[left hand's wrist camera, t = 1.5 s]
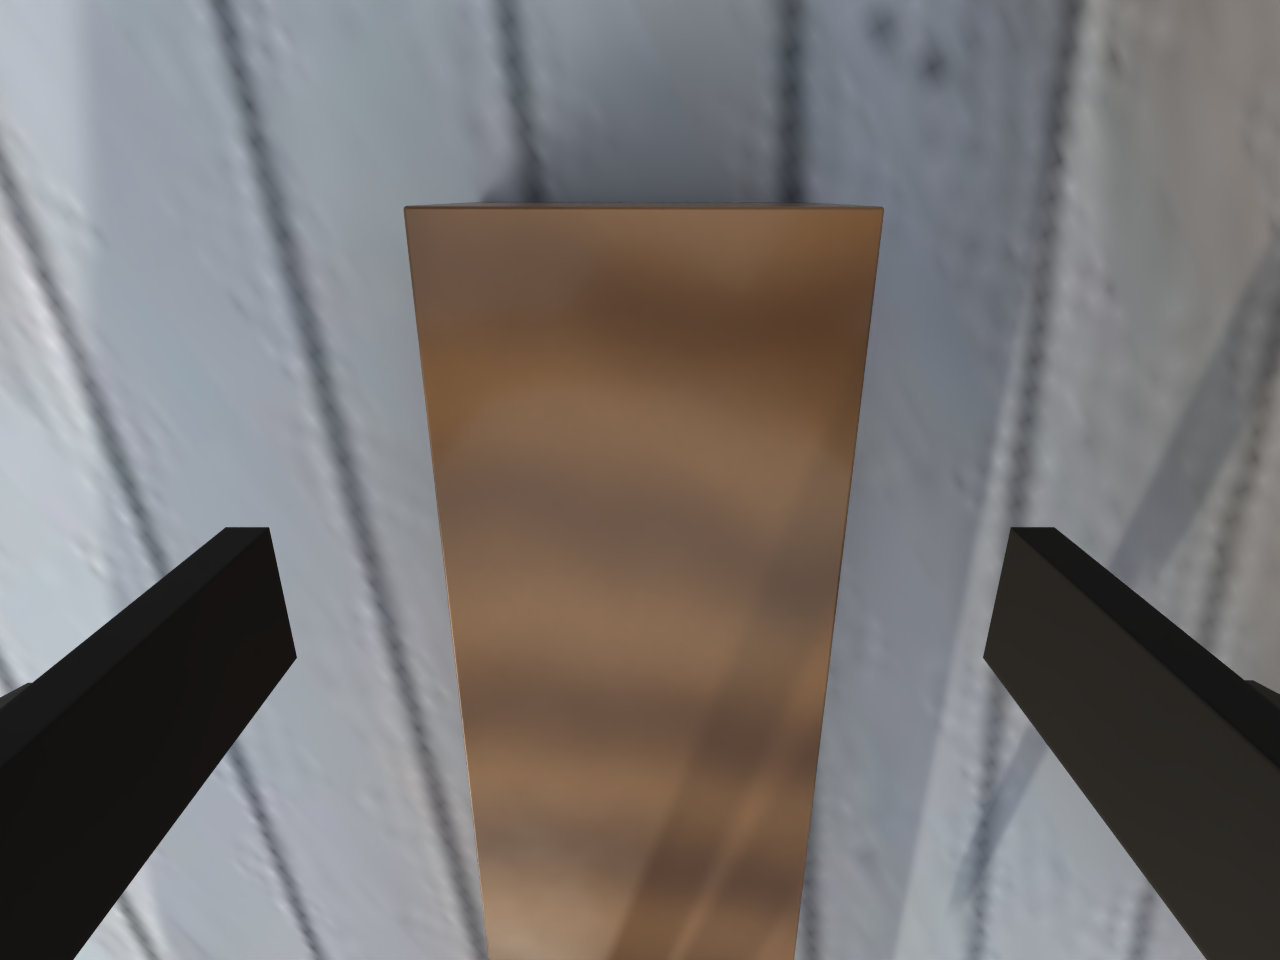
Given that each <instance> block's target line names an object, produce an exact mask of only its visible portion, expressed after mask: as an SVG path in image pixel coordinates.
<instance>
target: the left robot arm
mask: <svg viewBox="0 0 1280 960" xmlns="http://www.w3.org/2000/svg"><path fill="white" fill-rule="evenodd" d="M296 658H297V656H296V651H295V647H294V642H293V637H292V633H291V628H290V623H289V619H288V614H287V609H286V605H285V600H284V595H283V590H282V586H281V581H280V576H279V572H278V567H277V562H276V558H275V553H274V548H273V544H272V539H271V534H270V530H269V527H226V528H224V529H223V530H222V531H221V532H219V533H218V534H217V535H216V536H214V537H213V538H212V539H211V540H209V541H208V542H207V543H206V544H204V545H203V546H202V547H201V548H199V549H198V550H197V551H196V552H195V553H193V554H192V555H191V556H190V557H188V558H187V559H186V560H185V561H183V562H182V563H181V564H180V565H178V566H177V567H176V568H175V569H173V570H172V571H171V572H170V573H168V574H167V575H166V576H165V577H163V578H162V579H161V580H160V581H158V582H157V583H156V584H155V585H154V586H152V587H151V588H150V589H149V590H147V591H146V592H145V593H144V594H142V595H141V596H140V597H139V598H137V599H136V600H135V601H134V602H132V603H131V604H130V605H129V606H127V607H126V608H125V609H124V610H122V611H121V612H120V613H119V614H117V615H116V616H115V617H114V618H112V619H111V620H110V621H109V622H108V623H106V624H105V625H104V626H103V627H101V628H100V629H99V630H98V631H96V632H95V633H94V634H93V635H91V636H90V637H89V638H88V639H86V640H85V641H84V642H83V643H81V644H80V645H79V646H78V647H76V648H75V649H74V650H73V651H71V652H70V653H69V654H68V655H66V656H65V657H64V658H63V659H62V660H60V661H59V662H58V663H57V664H55V665H54V666H53V667H52V668H50V669H49V670H48V671H47V672H45V673H44V674H43V675H42V676H40V677H39V678H38V679H37V680H35V681H34V682H33V683H27V684H25V685H23V686H21V687H19V688H17V689H16V690H14V691H12V692H10V693H8V694H6V695H4V696H2V697H0V960H73V959H74V958H75V957H76V955H77V954H78V953H79V951H80V950H81V949H82V947H83V946H84V945H85V943H86V942H87V940H88V939H89V938H90V936H91V935H92V934H93V932H94V931H95V930H96V928H97V927H98V926H99V924H100V923H101V922H102V920H103V919H104V918H105V916H106V915H107V913H108V912H109V911H110V909H111V908H112V907H113V905H114V904H115V903H116V901H117V900H118V899H119V897H120V896H121V895H122V893H123V892H124V890H125V889H126V888H127V886H128V885H129V884H130V882H131V881H132V880H133V878H134V877H135V876H136V874H137V873H138V872H139V870H140V869H141V868H142V866H143V865H144V863H145V862H146V861H147V859H148V858H149V857H150V855H151V854H152V853H153V851H154V850H155V849H156V847H157V846H158V845H159V843H160V842H161V841H162V839H163V838H164V836H165V835H166V834H167V832H168V831H169V830H170V828H171V827H172V826H173V824H174V823H175V822H176V820H177V819H178V818H179V816H180V815H181V813H182V812H183V811H184V809H185V808H186V807H187V805H188V804H189V803H190V801H191V800H192V799H193V797H194V796H195V795H196V793H197V792H198V791H199V789H200V788H201V786H202V785H203V784H204V782H205V781H206V780H207V778H208V777H209V776H210V774H211V773H212V772H213V770H214V769H215V768H216V766H217V765H218V764H219V762H220V761H221V759H222V758H223V757H224V755H225V754H226V753H227V751H228V750H229V749H230V747H231V746H232V745H233V743H234V742H235V741H236V739H237V738H238V736H239V735H240V734H241V732H242V731H243V730H244V728H245V727H246V726H247V724H248V723H249V722H250V720H251V719H252V718H253V716H254V715H255V714H256V712H257V711H258V709H259V708H260V707H261V705H262V704H263V703H264V701H265V700H266V699H267V697H268V696H269V695H270V693H271V692H272V691H273V689H274V688H275V687H276V685H277V684H278V682H279V681H280V680H281V678H282V677H283V676H284V674H285V673H286V672H287V670H288V669H289V668H290V666H291V665H292V664H293V662H294V661H295V659H296ZM983 658H984V659H985V661H986V662H987V664H988V665H989V666H990V668H991V669H992V670H993V672H994V673H995V674H996V676H997V677H998V678H999V680H1000V681H1001V682H1002V684H1003V685H1004V687H1005V688H1006V689H1007V691H1008V692H1009V693H1010V695H1011V696H1012V697H1013V699H1014V700H1015V701H1016V703H1017V704H1018V705H1019V707H1020V708H1021V709H1022V711H1023V712H1024V714H1025V715H1026V716H1027V718H1028V719H1029V720H1030V722H1031V723H1032V724H1033V726H1034V727H1035V728H1036V730H1037V731H1038V732H1039V734H1040V735H1041V736H1042V738H1043V739H1044V741H1045V742H1046V743H1047V745H1048V746H1049V747H1050V749H1051V750H1052V751H1053V753H1054V754H1055V755H1056V757H1057V758H1058V759H1059V761H1060V762H1061V764H1062V765H1063V766H1064V768H1065V769H1066V770H1067V772H1068V773H1069V774H1070V776H1071V777H1072V778H1073V780H1074V781H1075V782H1076V784H1077V785H1078V786H1079V788H1080V789H1081V791H1082V792H1083V793H1084V795H1085V796H1086V797H1087V799H1088V800H1089V801H1090V803H1091V804H1092V805H1093V807H1094V808H1095V809H1096V811H1097V812H1098V813H1099V815H1100V816H1101V818H1102V819H1103V820H1104V822H1105V823H1106V824H1107V826H1108V827H1109V828H1110V830H1111V831H1112V832H1113V834H1114V835H1115V836H1116V838H1117V839H1118V841H1119V842H1120V843H1121V845H1122V846H1123V847H1124V849H1125V850H1126V851H1127V853H1128V854H1129V855H1130V857H1131V858H1132V859H1133V861H1134V862H1135V863H1136V865H1137V866H1138V868H1139V869H1140V870H1141V872H1142V873H1143V874H1144V876H1145V877H1146V878H1147V880H1148V881H1149V882H1150V884H1151V885H1152V886H1153V888H1154V889H1155V890H1156V892H1157V893H1158V895H1159V896H1160V897H1161V899H1162V900H1163V901H1164V903H1165V904H1166V905H1167V907H1168V908H1169V909H1170V911H1171V912H1172V913H1173V915H1174V916H1175V918H1176V919H1177V920H1178V922H1179V923H1180V924H1181V926H1182V927H1183V928H1184V930H1185V931H1186V932H1187V934H1188V935H1189V936H1190V938H1191V939H1192V940H1193V942H1194V943H1195V945H1196V946H1197V947H1198V949H1199V950H1200V951H1201V953H1202V954H1203V955H1204V957H1205V958H1206V959H1207V960H1280V694H1278V693H1276V692H1274V691H1272V690H1270V689H1268V688H1266V687H1265V686H1263V685H1261V684H1259V683H1257V682H1255V681H1253V680H1243V679H1242V678H1241V677H1240V676H1238V675H1237V674H1236V673H1235V672H1233V671H1232V670H1231V669H1230V668H1228V667H1227V666H1226V665H1225V664H1223V663H1222V662H1221V661H1220V660H1218V659H1217V658H1216V657H1215V656H1214V655H1212V654H1211V653H1210V652H1209V651H1207V650H1206V649H1205V648H1204V647H1202V646H1201V645H1200V644H1199V643H1197V642H1196V641H1195V640H1194V639H1192V638H1191V637H1190V636H1189V635H1187V634H1186V633H1185V632H1184V631H1182V630H1181V629H1180V628H1179V627H1177V626H1176V625H1175V624H1174V623H1172V622H1171V621H1170V620H1169V619H1168V618H1166V617H1165V616H1164V615H1163V614H1161V613H1160V612H1159V611H1158V610H1156V609H1155V608H1154V607H1153V606H1151V605H1150V604H1149V603H1148V602H1146V601H1145V600H1144V599H1143V598H1141V597H1140V596H1139V595H1138V594H1136V593H1135V592H1134V591H1133V590H1131V589H1130V588H1129V587H1128V586H1127V585H1125V584H1124V583H1123V582H1122V581H1120V580H1119V579H1118V578H1117V577H1115V576H1114V575H1113V574H1112V573H1110V572H1109V571H1108V570H1107V569H1105V568H1104V567H1103V566H1102V565H1100V564H1099V563H1098V562H1097V561H1095V560H1094V559H1093V558H1092V557H1090V556H1089V555H1088V554H1087V553H1085V552H1084V551H1083V550H1082V549H1081V548H1079V547H1078V546H1077V545H1076V544H1074V543H1073V542H1072V541H1071V540H1069V539H1068V538H1067V537H1066V536H1064V535H1063V534H1062V533H1061V532H1059V531H1058V530H1057V529H1056V528H1054V527H1011V530H1010V534H1009V539H1008V544H1007V548H1006V553H1005V558H1004V562H1003V567H1002V572H1001V576H1000V581H999V586H998V590H997V595H996V600H995V605H994V609H993V614H992V619H991V623H990V628H989V633H988V637H987V642H986V647H985V651H984V656H983Z"/></svg>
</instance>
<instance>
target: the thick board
mask: <svg viewBox="0 0 1280 960" xmlns="http://www.w3.org/2000/svg"><path fill="white" fill-rule="evenodd" d="M883 213H884V209H883V207H876V206H857V205H838V204H819V203H573V202H475V203H455V204H436V205H416V206H405V207H404V217H405V226H406V235H407V244H408V253H409V261H410V270H411V279H412V288H413V297H414V305H415V314H416V323H417V332H418V341H419V349H420V358H421V367H422V376H423V385H424V393H425V402H426V411H427V420H428V429H429V437H430V446H431V455H432V464H433V473H434V481H435V490H436V499H437V508H438V517H439V525H440V534H441V543H442V552H443V561H444V569H445V578H446V587H447V596H448V605H449V613H450V622H451V631H452V640H453V649H454V657H455V666H456V675H457V684H458V693H459V701H460V710H461V719H462V728H463V737H464V745H465V754H466V763H467V772H468V780H469V789H470V798H471V807H472V816H473V824H474V833H475V842H476V851H477V860H478V868H479V877H480V886H481V895H482V904H483V912H484V921H485V930H486V939H487V948H488V956H489V960H794V954H795V946H796V938H797V929H798V921H799V913H800V904H801V896H802V888H803V880H804V871H805V863H806V855H807V846H808V838H809V830H810V821H811V813H812V805H813V796H814V788H815V780H816V771H817V763H818V755H819V746H820V738H821V730H822V721H823V713H824V705H825V696H826V688H827V680H828V671H829V663H830V655H831V646H832V638H833V630H834V621H835V613H836V605H837V596H838V588H839V580H840V571H841V563H842V555H843V546H844V538H845V530H846V522H847V513H848V505H849V497H850V488H851V480H852V472H853V463H854V455H855V447H856V438H857V430H858V422H859V413H860V405H861V397H862V388H863V380H864V372H865V363H866V355H867V347H868V338H869V330H870V322H871V313H872V305H873V297H874V288H875V280H876V272H877V263H878V255H879V247H880V238H881V230H882V222H883Z"/></svg>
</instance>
